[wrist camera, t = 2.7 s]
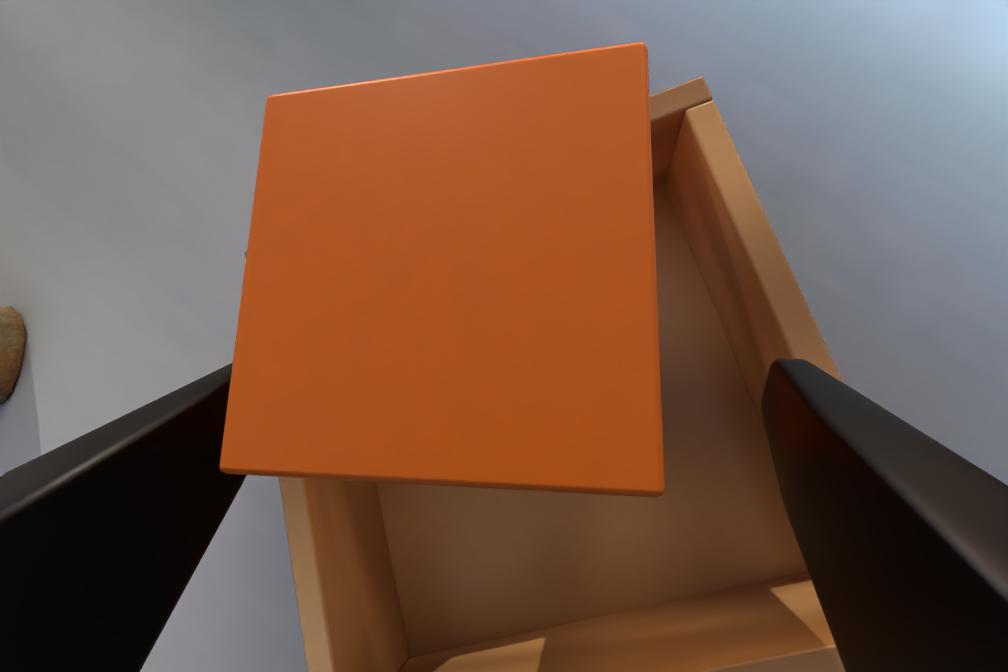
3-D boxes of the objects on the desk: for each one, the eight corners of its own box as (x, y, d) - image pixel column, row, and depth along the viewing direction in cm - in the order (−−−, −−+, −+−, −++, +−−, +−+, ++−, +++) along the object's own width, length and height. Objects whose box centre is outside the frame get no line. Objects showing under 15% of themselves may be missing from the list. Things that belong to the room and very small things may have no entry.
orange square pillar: (618, 441, 15) (666, 500, 4) (472, 437, 16) (213, 474, 5) (615, 295, 16) (647, 37, 5) (476, 299, 17) (264, 93, 6)
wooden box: (845, 581, 14) (974, 666, 9) (404, 675, 16) (322, 783, 11) (674, 168, 17) (703, 74, 12) (330, 291, 19) (243, 250, 14)
